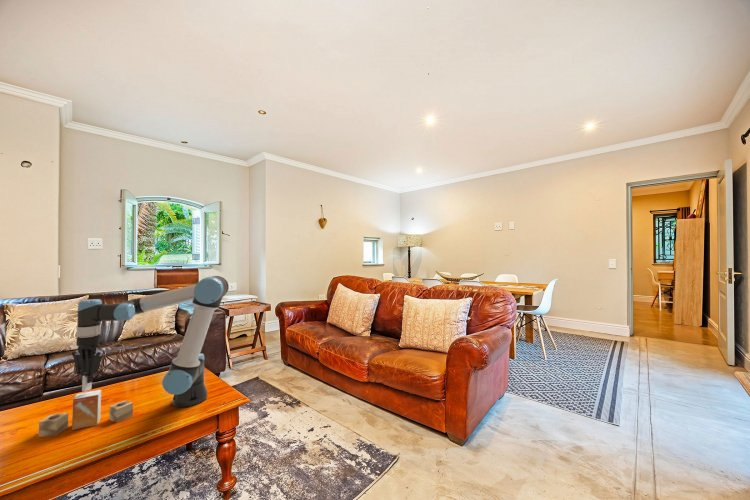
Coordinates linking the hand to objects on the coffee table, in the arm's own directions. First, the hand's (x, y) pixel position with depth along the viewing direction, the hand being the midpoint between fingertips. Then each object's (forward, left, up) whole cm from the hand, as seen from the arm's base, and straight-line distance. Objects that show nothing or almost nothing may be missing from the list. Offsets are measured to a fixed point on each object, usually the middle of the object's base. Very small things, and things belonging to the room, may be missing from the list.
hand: (86, 390), depth 130 cm
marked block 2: (-10, -6, -15) cm, 19 cm away
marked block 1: (+8, +6, -15) cm, 18 cm away
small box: (0, 0, -15) cm, 15 cm away
